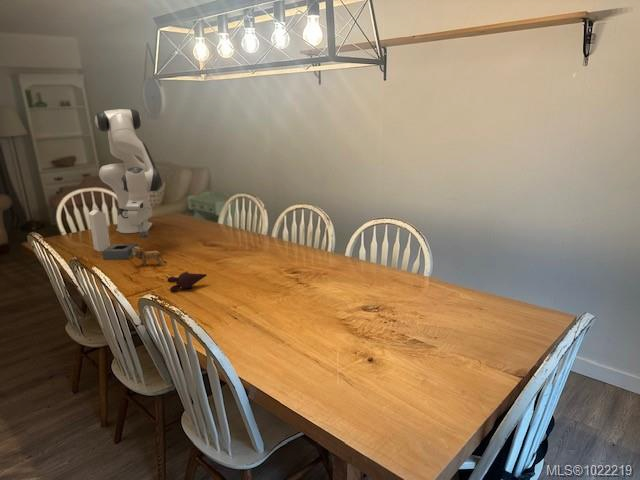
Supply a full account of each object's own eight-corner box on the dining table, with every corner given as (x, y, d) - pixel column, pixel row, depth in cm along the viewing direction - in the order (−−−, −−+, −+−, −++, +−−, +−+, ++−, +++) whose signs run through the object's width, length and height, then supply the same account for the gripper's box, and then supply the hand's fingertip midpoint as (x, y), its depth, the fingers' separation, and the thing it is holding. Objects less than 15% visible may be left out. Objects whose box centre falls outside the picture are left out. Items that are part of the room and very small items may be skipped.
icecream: (202, 265, 185) (164, 276, 178) (206, 266, 178) (167, 277, 172) (206, 282, 186) (169, 293, 179) (210, 283, 179) (172, 295, 172)
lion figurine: (132, 267, 204) (129, 248, 201) (135, 263, 209) (133, 245, 206) (166, 266, 205) (163, 246, 203) (168, 262, 210) (166, 243, 208)
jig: (114, 251, 227) (113, 244, 226) (140, 251, 227) (139, 243, 226) (103, 259, 216) (102, 251, 215) (130, 259, 216) (128, 250, 215)
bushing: (141, 235, 224) (139, 219, 222) (149, 235, 224) (147, 219, 222) (138, 237, 221) (136, 221, 218) (146, 237, 221) (144, 221, 218)
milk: (99, 252, 227) (91, 209, 221) (94, 249, 231) (86, 207, 225) (111, 249, 232) (104, 206, 225) (106, 246, 236) (99, 205, 229)
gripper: (141, 197, 227) (144, 224, 231) (123, 207, 208) (128, 236, 212) (153, 197, 227) (157, 224, 231) (137, 207, 208) (141, 236, 212)
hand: (143, 230), depth 221 cm, fingers closed on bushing, 4 cm apart
